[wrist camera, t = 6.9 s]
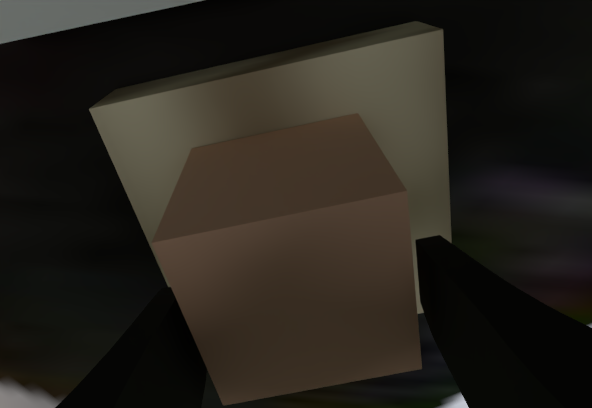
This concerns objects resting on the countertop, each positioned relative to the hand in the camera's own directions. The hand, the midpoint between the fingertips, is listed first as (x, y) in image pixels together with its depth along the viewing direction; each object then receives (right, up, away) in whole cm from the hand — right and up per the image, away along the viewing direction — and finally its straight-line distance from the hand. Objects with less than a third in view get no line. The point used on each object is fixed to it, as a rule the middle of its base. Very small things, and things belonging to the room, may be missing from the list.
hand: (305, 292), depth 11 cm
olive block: (0, +3, +6) cm, 6 cm away
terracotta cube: (0, +2, +3) cm, 4 cm away
